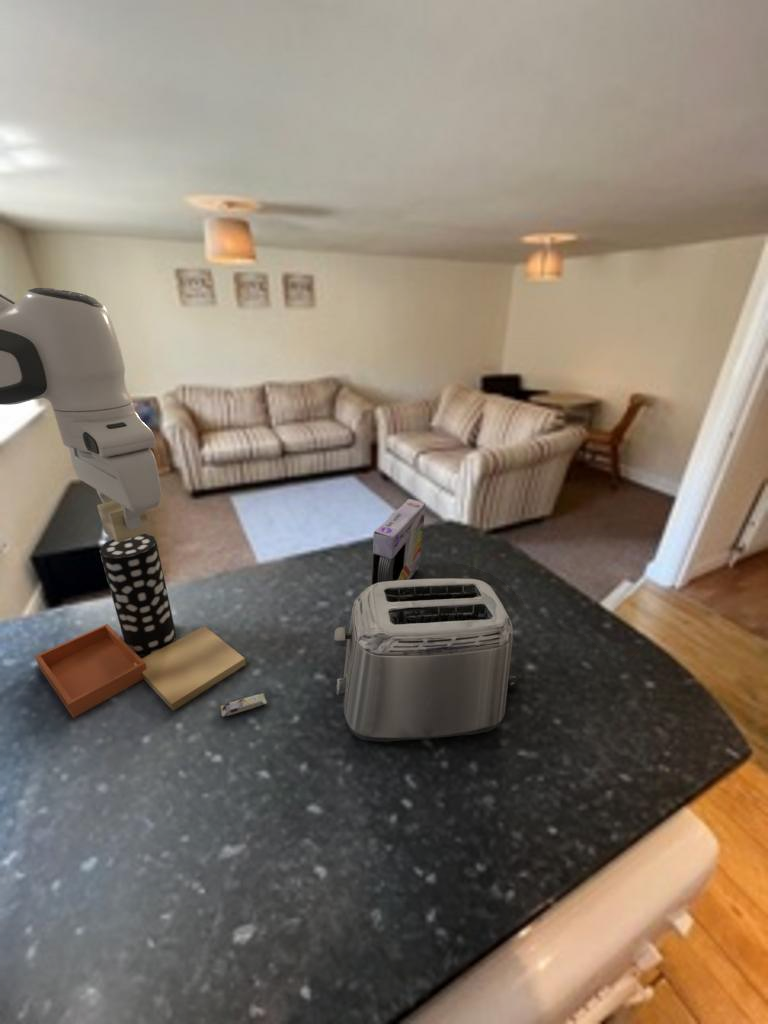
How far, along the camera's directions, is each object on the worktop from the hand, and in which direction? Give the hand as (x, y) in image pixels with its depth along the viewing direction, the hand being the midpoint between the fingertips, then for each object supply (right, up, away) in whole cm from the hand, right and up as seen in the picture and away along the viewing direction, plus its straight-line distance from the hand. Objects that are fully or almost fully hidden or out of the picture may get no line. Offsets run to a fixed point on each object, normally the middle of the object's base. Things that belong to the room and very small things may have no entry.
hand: (124, 521), depth 64 cm
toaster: (+45, -29, +7) cm, 54 cm away
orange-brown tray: (-11, -26, +11) cm, 30 cm away
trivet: (+4, -25, +12) cm, 28 cm away
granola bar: (+16, -29, +5) cm, 33 cm away
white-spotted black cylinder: (-6, -22, +18) cm, 29 cm away
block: (0, -2, +1) cm, 2 cm away
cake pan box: (+40, -15, +36) cm, 56 cm away
